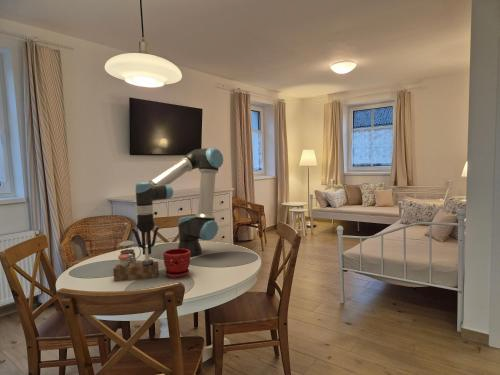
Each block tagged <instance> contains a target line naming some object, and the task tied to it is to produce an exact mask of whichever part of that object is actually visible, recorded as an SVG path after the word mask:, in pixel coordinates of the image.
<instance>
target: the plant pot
mask: <svg viewBox="0 0 500 375" xmlns="http://www.w3.org/2000/svg"><path fill="white" fill-rule="evenodd" d="M181 253H182V254H181ZM191 257H192V256H191V254H190V250H188V249H178V248H172V249H168V250H165V251H164V252H163V265H164V268H165V271H164V272H165V275H166V276H167V277H169V278H181V277H184V276H186V275H188V274H189V272H190V269H189V267H190V263H191Z"/></svg>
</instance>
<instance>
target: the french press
mask: <svg viewBox="0 0 500 375" xmlns="http://www.w3.org/2000/svg"><path fill="white" fill-rule="evenodd" d="M123 226H128V222H124V223H123ZM125 233H126V234H125V236H126V240H124V241H121V242H119V243H118V246H119V247H131V246H133V247H134V248H136V247H137V248H138V249H139V255H138V256H137V257H136V253H135V249H128V248H126V249H123V250H121V251H120V254H119V255H123V254H129V255H130V258H128V264H131V263H137V259H138V258H140V256H141V254H142V250H141V247H138V244H136V242H135V241H132V240H128V237H127V232H125ZM119 264H121V260H119Z"/></svg>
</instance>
